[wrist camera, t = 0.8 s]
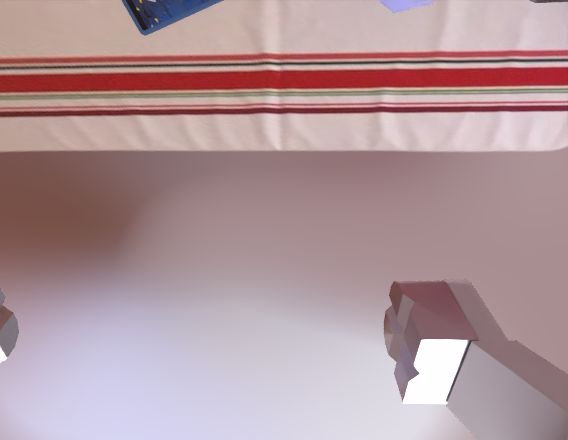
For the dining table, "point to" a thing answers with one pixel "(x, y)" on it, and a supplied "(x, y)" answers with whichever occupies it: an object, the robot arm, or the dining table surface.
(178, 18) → the smartphone
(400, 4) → the potion bottle
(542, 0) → the beam stand
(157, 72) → the dining table surface
